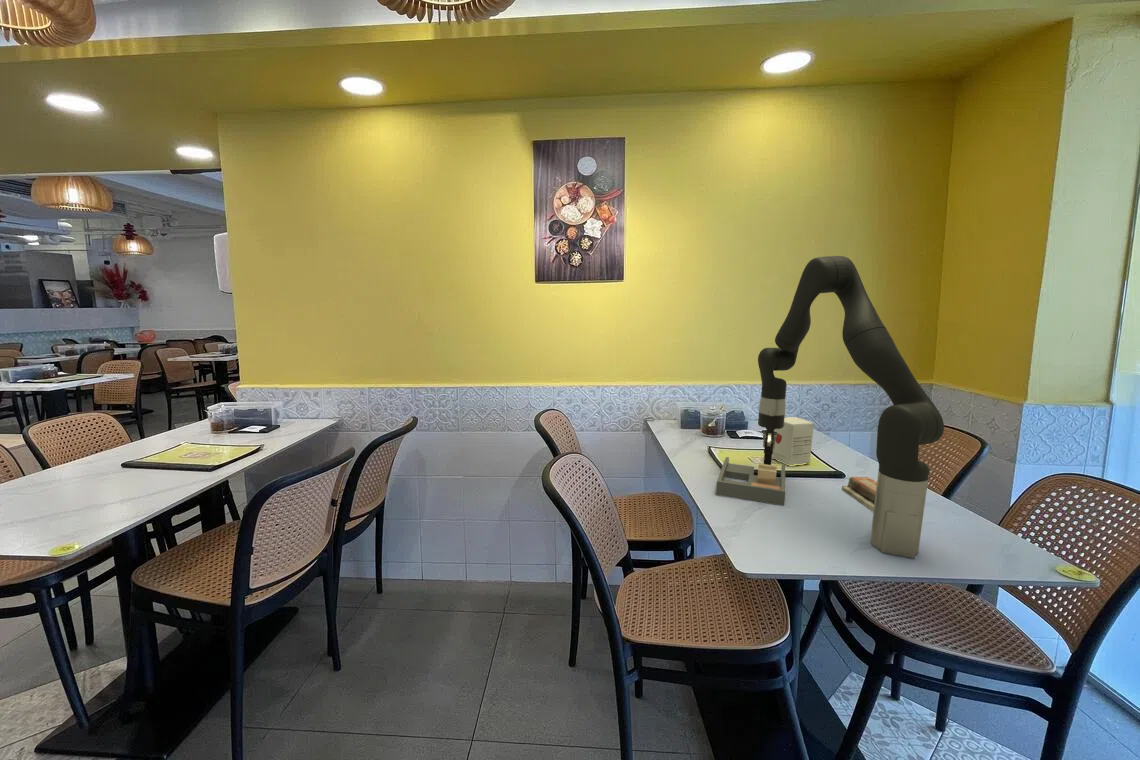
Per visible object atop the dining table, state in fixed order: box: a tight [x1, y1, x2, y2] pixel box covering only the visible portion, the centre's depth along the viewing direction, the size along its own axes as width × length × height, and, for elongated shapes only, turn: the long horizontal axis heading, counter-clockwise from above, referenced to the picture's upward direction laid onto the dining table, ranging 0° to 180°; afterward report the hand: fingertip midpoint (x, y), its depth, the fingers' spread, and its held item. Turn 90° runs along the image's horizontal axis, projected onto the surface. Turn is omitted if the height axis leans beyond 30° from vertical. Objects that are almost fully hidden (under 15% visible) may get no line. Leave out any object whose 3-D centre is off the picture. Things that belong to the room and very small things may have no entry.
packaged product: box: [841, 476, 877, 513], centre depth 136 cm, size 18×5×10 cm
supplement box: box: [772, 416, 815, 465], centre depth 168 cm, size 9×9×15 cm
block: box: [757, 463, 778, 485], centre depth 146 cm, size 6×5×4 cm
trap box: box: [715, 456, 786, 506], centre depth 147 cm, size 24×18×4 cm
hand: (767, 464), depth 154 cm, fingers closed
